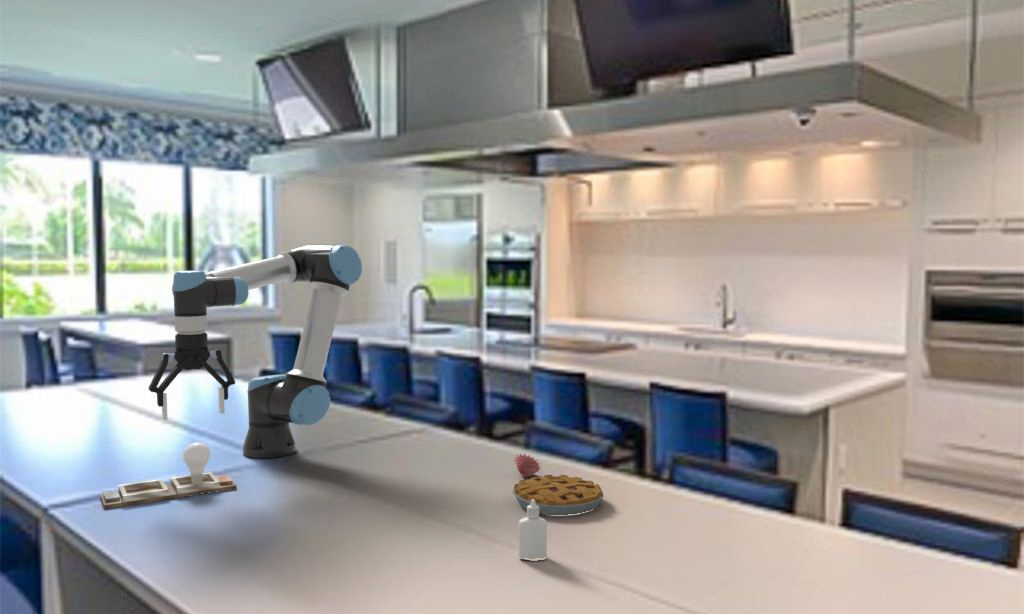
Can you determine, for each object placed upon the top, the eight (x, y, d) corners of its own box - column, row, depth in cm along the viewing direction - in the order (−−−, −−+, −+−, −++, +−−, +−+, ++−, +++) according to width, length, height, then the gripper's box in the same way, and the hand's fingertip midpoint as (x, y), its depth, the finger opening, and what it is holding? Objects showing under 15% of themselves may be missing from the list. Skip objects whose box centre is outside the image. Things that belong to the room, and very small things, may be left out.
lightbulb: (200, 490, 196) (200, 446, 196) (178, 487, 198) (177, 444, 197) (215, 482, 203) (215, 440, 202) (193, 480, 204) (193, 438, 203)
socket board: (227, 479, 209) (227, 469, 209) (236, 489, 201) (236, 479, 200) (100, 497, 193) (100, 487, 193) (104, 509, 185) (104, 498, 184)
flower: (523, 460, 208) (531, 445, 212) (503, 467, 213) (511, 452, 217) (542, 480, 210) (549, 464, 214) (522, 486, 215) (529, 470, 219)
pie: (541, 525, 177) (541, 503, 176) (497, 497, 196) (497, 478, 196) (620, 511, 187) (621, 490, 187) (571, 486, 206) (571, 467, 206)
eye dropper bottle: (525, 552, 161) (525, 494, 160) (549, 557, 158) (550, 499, 157) (515, 559, 157) (515, 500, 156) (540, 565, 154) (540, 505, 154)
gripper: (238, 328, 207) (240, 407, 209) (134, 333, 194) (137, 418, 196) (245, 330, 201) (248, 412, 203) (138, 337, 188) (142, 424, 189)
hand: (193, 415), depth 199 cm, fingers open, 13 cm apart
